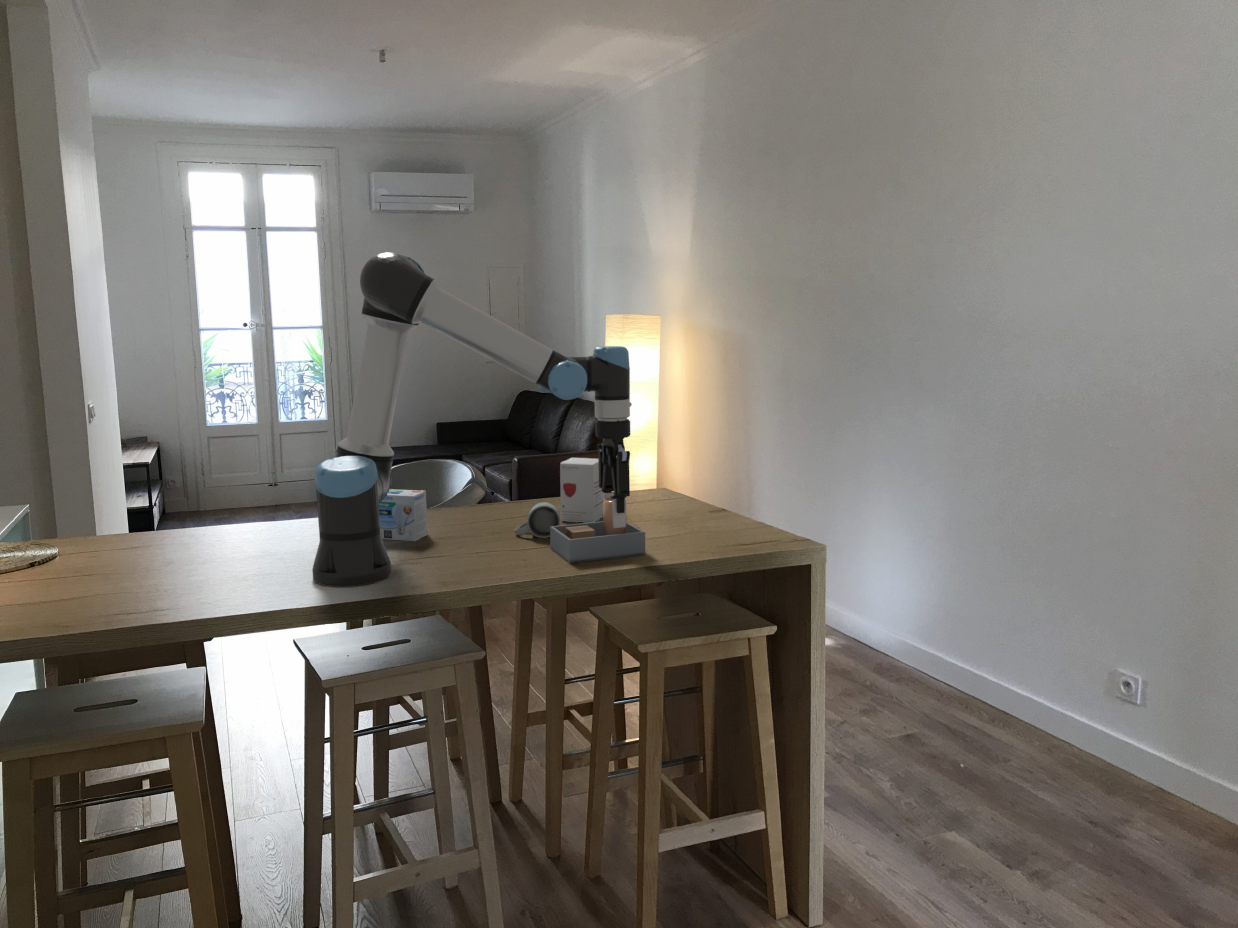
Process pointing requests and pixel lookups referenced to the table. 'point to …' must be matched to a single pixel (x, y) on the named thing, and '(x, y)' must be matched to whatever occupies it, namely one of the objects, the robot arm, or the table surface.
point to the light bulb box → (403, 515)
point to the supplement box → (580, 490)
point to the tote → (597, 543)
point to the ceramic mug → (540, 520)
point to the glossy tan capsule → (611, 519)
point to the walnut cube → (579, 532)
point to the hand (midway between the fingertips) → (614, 524)
